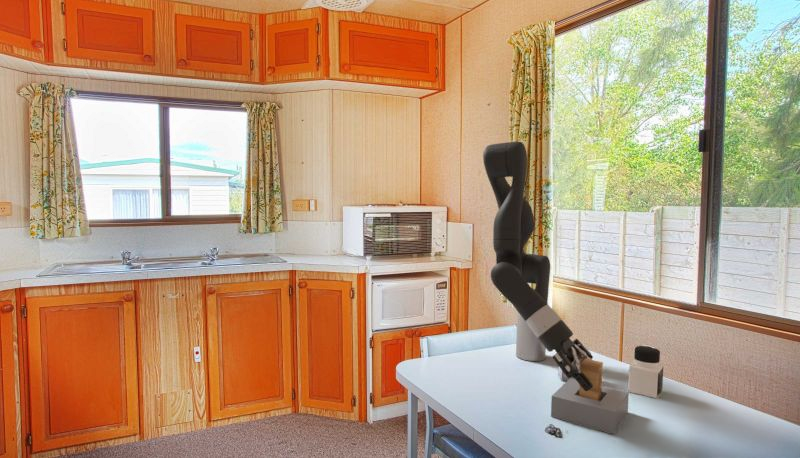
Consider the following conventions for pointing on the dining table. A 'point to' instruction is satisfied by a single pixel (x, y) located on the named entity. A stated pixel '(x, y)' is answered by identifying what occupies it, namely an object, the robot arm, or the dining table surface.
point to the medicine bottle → (646, 372)
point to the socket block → (590, 407)
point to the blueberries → (553, 431)
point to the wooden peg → (592, 378)
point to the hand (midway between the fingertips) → (594, 383)
